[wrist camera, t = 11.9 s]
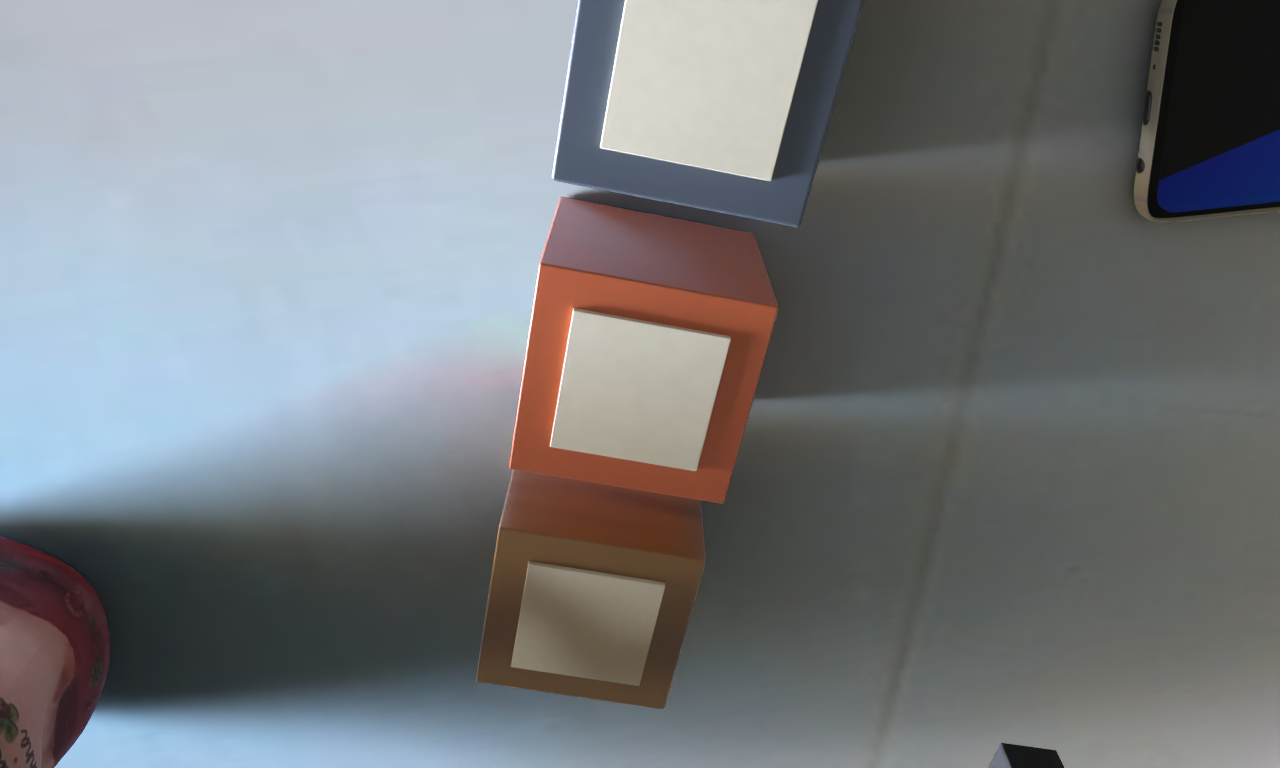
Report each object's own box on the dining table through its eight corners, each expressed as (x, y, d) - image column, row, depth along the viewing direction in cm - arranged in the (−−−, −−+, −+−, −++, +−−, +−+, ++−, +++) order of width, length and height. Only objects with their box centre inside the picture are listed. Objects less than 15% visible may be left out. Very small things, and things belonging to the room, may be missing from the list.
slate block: (605, -102, 24) (593, -108, 18) (827, -53, 24) (879, -45, 19) (570, 128, 27) (549, 182, 21) (770, 167, 27) (801, 230, 22)
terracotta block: (560, 195, 27) (538, 265, 22) (754, 232, 28) (780, 309, 22) (533, 371, 30) (507, 472, 25) (710, 402, 31) (724, 507, 25)
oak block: (524, 422, 31) (497, 530, 26) (696, 451, 31) (707, 564, 26) (502, 561, 34) (474, 686, 28) (661, 586, 34) (664, 714, 29)
